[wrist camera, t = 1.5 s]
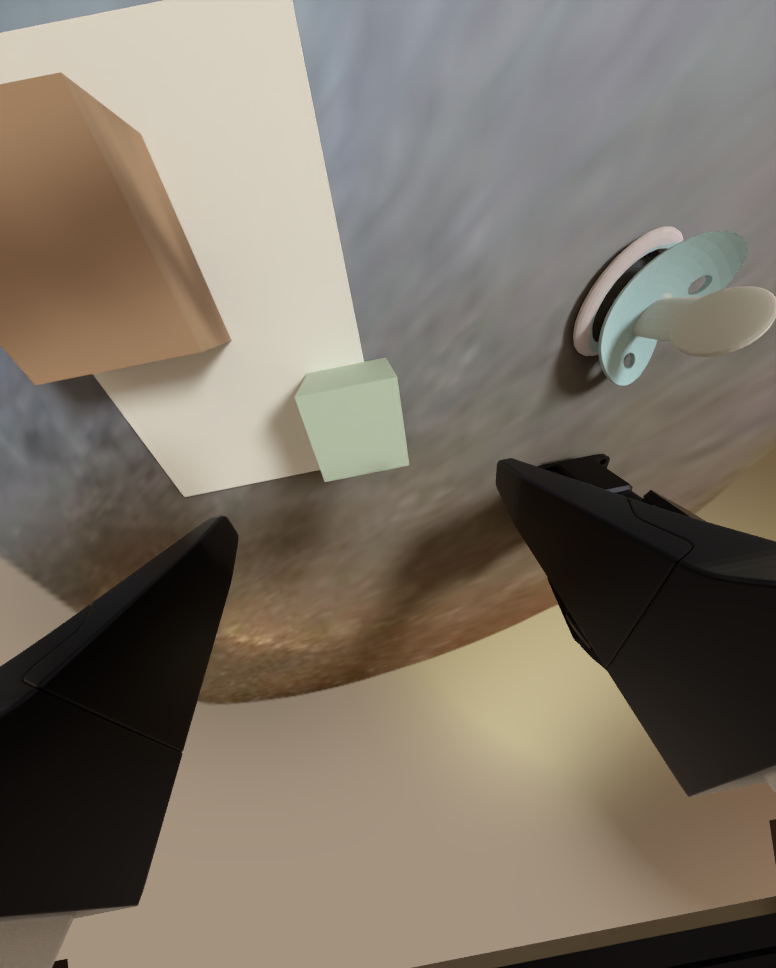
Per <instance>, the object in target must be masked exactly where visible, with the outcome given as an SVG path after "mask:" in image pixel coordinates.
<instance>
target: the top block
mask: <svg viewBox="0 0 776 968" xmlns="http://www.w3.org/2000/svg"><path fill="white" fill-rule="evenodd" d="M294 398H295V400H296V403H297V406H298V409H299V412H300V414H301V417H302V420H303V423H304V426H305V428H306V431H307V434H308V437H309V439H310V442H311V445H312V448H313V451H314V453H315V456H316V459H317V462H318V464H319V467H320V470H321V473H322V476H323V478H324V481H325V482H328V481H333V480H338V479H343V478H348V477H353V476H358V475H363V474H368V473H373V472H378V471H383V470H388V469H393V468H398V467H403V466H408V465H409V459H408V452H407V445H406V438H405V431H404V423H403V416H402V409H401V402H400V394H399V387H398V380H397V376H396V374H395V372H394V371H393V369H392V367H391V366H390V364H389V362H388V360H387V359H386V358H381V359H376V360H371V361H366V362H361V363H356V364H351V365H346V366H341V367H336V368H331V369H326V370H321V371H316V372H311V373H307V375H306V377H305V379H304V381H303V382H302V384H301V386H300V388H299V390H298V392H297V394H296V395H295V397H294Z"/></svg>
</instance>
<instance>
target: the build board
mask: <svg viewBox="0 0 776 968" xmlns="http://www.w3.org/2000/svg"><path fill="white" fill-rule="evenodd" d="M60 72H61V73H62V74H64V75H65V76H66V77H68V78H69V79H70V80H72V81H73V82H74V83H75V84H77V85H78V86H79V87H81V88H82V89H83V90H85V91H86V92H87V93H88V94H90V95H91V96H92V97H94V98H95V99H96V100H98V101H99V102H100V103H101V104H103V105H104V106H105V107H107V108H108V109H109V110H111V111H112V112H113V113H114V114H116V115H117V116H118V117H120V118H121V119H122V120H124V121H125V122H126V123H127V124H129V125H130V126H131V127H133V128H134V129H135V130H137V131H138V132H139V133H140V134H141V135H142V137H143V140H144V142H145V144H146V147H147V149H148V151H149V153H150V156H151V158H152V160H153V163H154V165H155V167H156V169H157V172H158V174H159V176H160V179H161V181H162V183H163V185H164V188H165V190H166V192H167V194H168V197H169V199H170V201H171V204H172V206H173V208H174V210H175V213H176V215H177V217H178V220H179V222H180V224H181V226H182V229H183V231H184V233H185V236H186V238H187V240H188V242H189V245H190V247H191V249H192V252H193V254H194V256H195V258H196V261H197V263H198V265H199V267H200V270H201V272H202V274H203V277H204V279H205V281H206V283H207V286H208V288H209V290H210V293H211V295H212V297H213V299H214V302H215V304H216V306H217V309H218V311H219V313H220V315H221V318H222V320H223V322H224V324H225V327H226V329H227V331H228V334H229V336H230V338H231V340H232V341H229V342H226V343H224V344H221V345H219V346H216V347H214V348H211V349H208V350H206V351H203V352H200V353H195V354H190V355H185V356H180V357H175V358H170V359H165V360H160V361H155V362H150V363H145V364H140V365H135V366H130V367H125V368H120V369H115V370H110V371H105V372H100V373H95V374H93V375H94V377H95V378H96V379H97V381H98V382H99V383H100V385H101V386H102V387H103V389H104V390H105V391H106V393H107V394H108V395H109V397H110V398H111V399H112V401H113V402H114V403H115V405H116V406H117V407H118V409H119V410H120V411H121V413H122V414H123V416H124V417H125V418H126V420H127V421H128V422H129V424H130V425H131V426H132V428H133V429H134V430H135V432H136V433H137V434H138V436H139V437H140V438H141V440H142V441H143V442H144V444H145V445H146V446H147V448H148V449H149V450H150V452H151V453H152V454H153V456H154V457H155V458H156V460H157V461H158V463H159V464H160V465H161V467H162V468H163V469H164V471H165V472H166V473H167V475H168V476H169V477H170V479H171V480H172V481H173V483H174V484H175V485H176V487H177V488H178V489H179V491H180V492H181V493H182V495H183V496H184V497H188V496H193V495H198V494H203V493H208V492H213V491H218V490H223V489H228V488H233V487H238V486H243V485H248V484H253V483H258V482H263V481H268V480H272V479H277V478H282V477H287V476H292V475H297V474H302V473H307V472H312V471H317V470H320V467H319V464H318V462H317V459H316V456H315V453H314V451H313V448H312V445H311V442H310V439H309V437H308V434H307V431H306V428H305V426H304V423H303V420H302V417H301V414H300V412H299V409H298V406H297V403H296V400H295V398H294V397H295V395H296V394H297V392H298V390H299V388H300V386H301V384H302V382H303V381H304V379H305V377H306V375H307V373H311V372H316V371H321V370H326V369H331V368H336V367H341V366H346V365H351V364H356V363H361V362H364V359H363V354H362V349H361V344H360V339H359V334H358V329H357V324H356V319H355V314H354V308H353V303H352V298H351V293H350V288H349V283H348V278H347V273H346V268H345V263H344V258H343V253H342V248H341V243H340V238H339V233H338V228H337V223H336V218H335V213H334V208H333V203H332V198H331V193H330V188H329V183H328V178H327V173H326V168H325V163H324V158H323V153H322V148H321V142H320V137H319V132H318V127H317V122H316V117H315V112H314V107H313V102H312V97H311V92H310V87H309V82H308V77H307V72H306V67H305V62H304V57H303V52H302V47H301V42H300V37H299V32H298V27H297V22H296V17H295V12H294V7H293V2H292V0H164V1H159V2H154V3H149V4H144V5H138V6H133V7H128V8H123V9H118V10H113V11H108V12H103V13H98V14H93V15H88V16H83V17H78V18H73V19H68V20H63V21H58V22H53V23H48V24H43V25H38V26H32V27H27V28H22V29H17V30H12V31H7V32H2V33H0V84H4V83H9V82H14V81H19V80H24V79H29V78H34V77H39V76H44V75H49V74H55V73H60Z"/></svg>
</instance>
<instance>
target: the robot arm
mask: <svg viewBox="0 0 776 968" xmlns="http://www.w3.org/2000/svg"><path fill="white" fill-rule="evenodd" d="M609 460H610V458H609V457H608V456H606V455H605V454H598V455H593V456H588V457H583V458H578V459H573V460H568V461H563V462H558V463H553V464H548V465H543V466H539V467H536V466H533V465H530V464H527V463H524V462H521V461H518V460H515V459H512V458H508V459H504V460H499V461H498V463H497V472H496V486H497V489H498V491H499V493H500V495H501V498H502V500H503V502H504V504H505V506H506V508H507V510H508V512H509V514H510V516H511V518H512V520H513V522H514V524H515V526H516V528H517V529H518V531H519V533H520V534H521V536H522V537H523V539H524V541H525V542H526V544H527V545H528V547H529V548H530V550H531V552H532V553H533V555H534V556H535V558H536V559H537V561H538V563H539V564H540V566H541V567H542V569H543V570H544V572H545V574H546V575H547V577H548V581H549V583H550V586H551V588H552V591H553V593H554V595H555V597H556V600H557V602H558V604H559V607H560V609H561V611H562V614H563V616H564V618H565V621H566V623H567V625H568V627H569V629H570V632H571V634H572V636H573V638H574V639H575V641H576V642H577V643H579V644H580V645H581V647H582V648H583V649H584V650H585V651H586V652H587V653H588V654H589V655H590V656H591V657H592V658H593V659H594V660H595V661H596V662H597V663H599V664H600V665H601V666H602V667H604V668H605V669H606V670H607V671H608V673H609V674H610V676H611V677H612V679H613V681H614V682H615V684H616V685H617V687H618V689H619V690H620V692H621V693H622V695H623V696H624V698H625V699H626V701H627V703H628V704H629V706H630V707H631V709H632V710H633V712H634V714H635V715H636V717H637V718H638V720H639V721H640V723H641V725H642V726H643V728H644V729H645V731H646V732H647V734H648V735H649V737H650V739H651V740H652V742H653V743H654V745H655V747H656V748H657V750H658V751H659V753H660V754H661V756H662V757H663V759H664V761H665V762H666V764H667V765H668V767H669V769H670V770H671V771H672V773H673V775H674V776H675V778H676V779H677V781H678V783H679V784H680V785H681V787H682V788H683V790H684V791H685V793H686V794H687V795H688V796H689V797H693V796H698V795H703V794H708V793H713V792H718V791H723V790H728V789H733V788H738V787H744V786H748V785H753V784H759V783H764V782H766V783H767V784H768V785H769V786H770V787H771V788H772V789H773V791H774V792H775V793H776V542H775V541H772V540H768V539H765V538H761V537H758V536H754V535H750V534H747V533H744V532H740V531H736V530H733V529H730V528H726V527H723V526H719V525H715V524H712V523H709V522H706V521H705V520H703V519H701V518H699V517H698V516H697V515H695V514H693V513H692V512H690V511H688V510H686V509H685V508H683V507H681V506H679V505H677V504H676V503H674V502H672V501H670V500H668V499H667V498H665V497H663V496H661V495H659V494H657V493H656V492H654V491H652V490H650V491H649V492H648V493H647V494H645V495H644V496H643V497H644V498H641V497H640V496H638V495H637V494H635V493H634V492H632V491H631V490H632V488H633V487H632V486H631V485H630V484H629V483H627V482H626V481H624V480H623V479H621V478H620V477H618V476H617V475H615V474H614V473H613V472H611V471H610V470H608V469H607V466H608V463H609ZM237 546H238V534H237V532H236V530H235V529H234V527H233V526H232V524H231V523H230V521H229V520H228V518H227V517H225V516H223V515H222V516H216V517H212V518H209V519H208V520H206V521H205V522H204V523H202V524H201V525H200V526H198V527H197V528H195V529H194V530H193V531H191V532H190V533H188V534H187V535H186V536H184V537H183V538H182V539H180V540H179V541H177V542H176V543H175V544H173V545H172V546H170V547H169V548H168V549H166V550H165V551H163V552H162V553H161V554H159V555H158V556H157V557H155V558H154V559H152V560H151V561H150V562H148V563H147V564H145V565H144V566H143V567H141V568H140V569H138V570H137V571H136V572H134V573H133V574H132V575H130V576H129V577H127V578H126V579H125V580H123V581H122V582H120V583H119V584H118V585H116V586H115V587H114V588H112V589H111V590H109V591H108V592H107V593H105V594H104V595H102V596H101V597H100V598H98V599H97V600H95V601H94V602H93V603H92V605H88V606H87V607H86V608H84V609H83V610H81V611H80V612H79V613H77V614H76V615H75V616H73V617H72V618H70V619H69V620H68V621H66V622H65V623H63V624H62V625H60V626H59V627H58V628H56V629H55V630H53V631H52V632H51V633H49V634H48V635H46V636H45V637H43V638H42V639H40V640H39V641H38V642H36V643H35V644H33V645H32V646H30V647H29V648H27V649H26V650H24V651H23V652H21V653H20V654H18V655H17V656H15V657H14V658H13V659H11V660H9V661H8V662H6V663H5V664H3V665H2V666H0V968H68V962H67V959H64V960H59V961H55V959H56V957H57V955H58V953H59V951H60V948H61V946H62V944H63V941H64V939H65V937H66V935H67V932H68V930H69V928H70V926H71V924H72V921H73V919H74V918H78V917H84V916H89V915H94V914H99V913H104V912H109V911H114V910H119V909H125V908H130V907H135V906H137V905H138V903H139V901H140V898H141V895H142V893H143V889H144V886H145V883H146V879H147V876H148V872H149V869H150V866H151V862H152V859H153V855H154V852H155V848H156V845H157V841H158V837H159V834H160V831H161V827H162V823H163V820H164V816H165V813H166V809H167V806H168V802H169V799H170V795H171V792H172V788H173V785H174V781H175V778H176V774H177V771H178V767H179V764H180V760H181V757H182V751H183V749H184V746H185V742H186V738H187V735H188V732H189V728H190V725H191V721H192V718H193V714H194V711H195V707H196V704H197V700H198V697H199V693H200V690H201V686H202V683H203V679H204V676H205V672H206V669H207V665H208V662H209V658H210V655H211V651H212V648H213V644H214V641H215V637H216V634H217V630H218V627H219V623H220V620H221V616H222V613H223V609H224V606H225V602H226V599H227V595H228V592H229V588H230V584H231V580H232V575H233V570H234V564H235V558H236V552H237ZM770 828H771V835H772V842H773V849H774V856H775V862H776V819H775V820H770ZM413 968H776V896H774V897H769V898H764V899H759V900H754V901H749V902H744V903H739V904H734V905H728V906H724V907H718V908H714V909H709V910H703V911H698V912H693V913H688V914H683V915H678V916H673V917H667V918H663V919H657V920H652V921H647V922H642V923H637V924H632V925H627V926H622V927H617V928H612V929H607V930H601V931H597V932H591V933H586V934H581V935H576V936H571V937H566V938H561V939H556V940H551V941H546V942H541V943H535V944H530V945H525V946H520V947H515V948H510V949H505V950H500V951H495V952H490V953H485V954H479V955H474V956H469V957H464V958H459V959H454V960H449V961H444V962H439V963H434V964H428V965H423V966H419V967H413Z"/></svg>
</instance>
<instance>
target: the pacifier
mask: <svg viewBox="0 0 776 968" xmlns="http://www.w3.org/2000/svg"><path fill="white" fill-rule="evenodd" d="M654 250H656V251H658V252H659V253H661V254H660V255H658V256H657V257H655V258H654V259H653V260H651V261H650V262H649V263H648V264H647V265H645V266H644V267H643V268H642V269H641V270H640V271H639V272H638V273H637V274H636V275H635V276H634V277H633V278H632V279H631V280H630V281H629V282H628V283H627V285H626V286H625V287H624V288H623V289H622V291H621V292H620V293H619V295H618V296H617V298H616V299H615V301H614V302H613V304H612V306H611V307H610V309H609V311H608V313H607V315H606V317H605V320H604V323H603V325H602V328H601V332H600V336H599V342H595V340H594V338H593V337H592V327H593V322H594V318H595V316H596V313H597V311H598V309H599V307H600V305H601V303H602V301H603V299H604V298H605V296H606V294H607V293H608V292H609V290H610V289H611V287H612V286H613V285H614V283H615V282H616V281H617V280H618V279H619V278H620V276H621V275H622V274H623V273H624V272H625V271H626V270H627V269H628V268H629V267H630V266H632V265H633V264H634V263H635V262H636V261H637V260H639V259H640V258H642V257H643V256H645V255H646V254H648V253H650V252H652V251H654ZM746 253H747V244H746V242H745V241H744V239H743V237H741V236H740V235H738V234H736V233H732V232H728V231H724V232H720V231H715V232H708V233H703V234H700V235H697V236H694V237H691V238H688V239H686V240H683V236H682V233H681V232H680V231H678V230H677V229H676V228H674V227H660V228H658V229H655V230H652V231H650V232H648V233H646V234H645V235H643V236H642V237H640V238H639V239H637V240H636V241H634V242H633V243H631V244H630V245H629V246H628V247H627V248H626V249H625V250H623V251H622V252H621V253H620V254H619V255H618V256H617V257H616V258H615V259H614V260H613V261H612V262H611V263H610V265H609V266H608V267H607V268H606V269H605V270H604V271H603V273H602V274H601V275H600V277H599V278H598V279H597V281H596V282H595V284H594V285H593V287H592V288H591V290H590V291H589V293H588V295H587V297H586V299H585V300H584V302H583V304H582V306H581V308H580V311H579V313H578V316H577V319H576V322H575V326H574V332H573V341H574V346H575V348H576V350H577V351H578V353H580V354H582V355H584V356H595V355H599V361H600V364H601V367H602V370H603V372H604V374H605V375H606V377H607V378H608V379H609V380H610V381H611V382H613V383H615V384H618V385H622V386H624V385H628V384H630V383H632V382H633V381H634V380H636V379H637V378H638V377H639V376H640V374H641V373H642V372H643V370H644V369H645V367H646V365H647V364H648V362H649V360H650V358H651V356H652V354H653V351H654V348H655V346H656V343H657V340H662V341H670V342H672V344H673V345H674V346H675V347H676V348H677V349H678V350H680V351H681V352H683V353H686V354H689V355H693V356H701V357H709V356H718V355H723V354H727V353H731V352H733V351H736V350H739V349H741V348H743V347H745V346H747V345H749V344H750V343H752V342H754V341H755V340H757V339H758V338H759V337H760V336H762V335H763V334H764V333H765V332H766V331H767V330H768V329H769V328H770V326H771V325H772V323H773V322H774V320H775V318H776V298H775V296H774V295H773V294H772V293H771V292H769V291H768V290H765V289H763V288H759V287H754V286H741V287H733V288H727V289H724V288H725V287H726V286H727V285H728V284H729V282H730V281H731V280H732V279H733V278H734V277H735V275H736V273H737V272H738V271H739V269H740V268H741V266H742V264H743V262H744V260H745V258H746ZM701 276H706V278H707V279H706V282H705V284H704V285H703V286H702V287H701V288H700V289H699V290H698V291H696V292H695V293H692V294H689V293H688V288H689V286H690V285H691V283H692V282H693V281H695V280H696V279H697V278H699V277H701ZM628 353H630V355H631V362H630V364H629V365H628V366H627V367H626V368H625V367H624V364H623V361H624V358H625V356H626V355H627V354H628Z"/></svg>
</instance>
